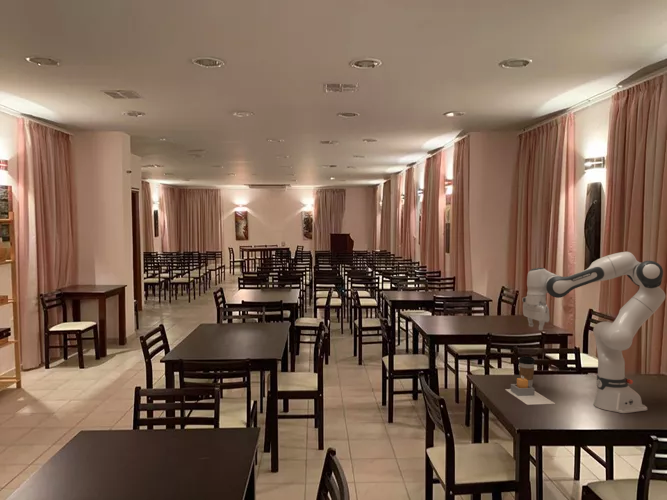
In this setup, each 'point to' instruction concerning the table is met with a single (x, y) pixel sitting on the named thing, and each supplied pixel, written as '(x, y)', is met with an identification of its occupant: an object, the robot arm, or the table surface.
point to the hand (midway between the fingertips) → (535, 328)
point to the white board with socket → (528, 395)
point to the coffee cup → (526, 368)
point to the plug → (522, 382)
